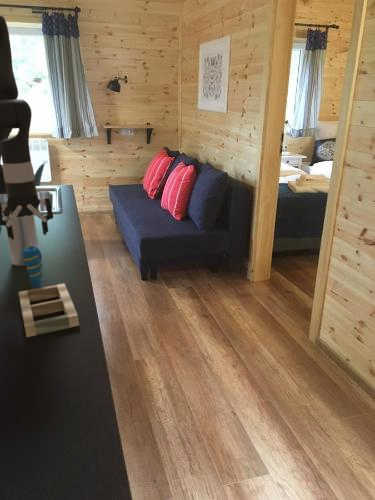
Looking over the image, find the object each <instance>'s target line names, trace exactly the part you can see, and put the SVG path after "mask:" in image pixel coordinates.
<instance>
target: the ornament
mask: <svg viewBox="0 0 375 500" xmlns="http://www.w3.org/2000/svg"><path fill="white" fill-rule="evenodd" d="M30 244H31V243H30ZM22 256H23V258H24V264H25V265H26V266H25V267H26V272H27V274H28V275H29V281H30V282H31V284H32V286H33V289H37V288H41V284H42V268H43V262H42V259H43V257H42V256H43V255H42V252H41V250H40V248H39V249H38V248H37V247H35V246H32V244H31V245H29V247H27V248H25V249H24V250H23V251H22Z"/></svg>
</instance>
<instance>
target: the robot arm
mask: <svg viewBox="0 0 375 500" xmlns="http://www.w3.org/2000/svg"><path fill="white" fill-rule="evenodd" d="M12 55H13V54H12V47H11V40H10V33H9V27H8V24H7V21H6V19H5V16H4V15H2V14H1V13H0V195H6V197H7V201H6V202H0V227H2V226H3V227H4V226H5V231H6V236H7V242H8V243H7V244H8V248H9V254H10V259H11V263H12V265H13V266H16V267H26V265H25V264H24V258H23V256H22V251H23V250H24V249H25V248H27V247H29V245H31V244H32V246H35V247H37V248H38V249H39V250H40V248H39V240H38V233H37V228H36V227H37V225H36V221H35V216H36V217H37V218H39V220H41V221H40V222H41V227H42V233H43V235H45V236H46V235H47V233H48V232H49V226H48V225H49V224H48V221H49V220H52V219H54V213H53V208H52V204H51V200H50V198H49V197H48V196H45V197H44V198H43V197H42V198H39V197H38V191H37V186H36V179H35V177H36V176H35V171H34V168H33V167H34V166H33V163H32V160H31V159H32V158H31V151H30V129H31V123H32V116H33V115H32V110H31V109H32V108H31V106H30V104H29V103H28V102H27V101H26V100H24V99H22V98H21V99H19V98H18V97H19V90H18V87H17V82H16V78H15V74H14V69H13V57H12ZM13 129H14V130H15V129H18V131H17V133H16V135H14V136H11V137H10V135H11V134H12V131H13ZM1 161H2V164H1ZM40 204H42V205H43V206H44V207H45V208H46V212H47V214H45V215H44V213H42V212H41V211H40V209H38V208H39V206H40ZM30 243H31V244H30Z"/></svg>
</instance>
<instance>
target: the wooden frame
mask: <svg viewBox="0 0 375 500" xmlns="http://www.w3.org/2000/svg"><path fill="white" fill-rule="evenodd" d="M18 296H19V302H20V309H21V314H22V319H23V325H24V330H25V336H26V338H29V337H35V336H39V335H44V334H48V333H53V332H57V331H60V330H65V329H70V328H73V327H78V326H80V322H79V314H78V311H77V310H76V309H75V305H74V302H73V300H72V298H71V296H70V293H69V290H68V288H67V286H66V283H59V284H55V285H54V284H53V285H48V286H43V287H40V288H37V289H35V288H33V289H27V290H22V291H18ZM56 297H58V298H59V299H54V300H50V301H49V300H48V301H44V302H39V303H36V304H35V303H34V304H31V303H32V302H36V301H41V300H46V299H52V298H56ZM62 311H63V312H64V314H63V315H59V316H54V317H48V318H44V319H38V320H35V321H34V317H38V316H39V317H40V316H43V315H49V314H53V313H58V312H62Z"/></svg>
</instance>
